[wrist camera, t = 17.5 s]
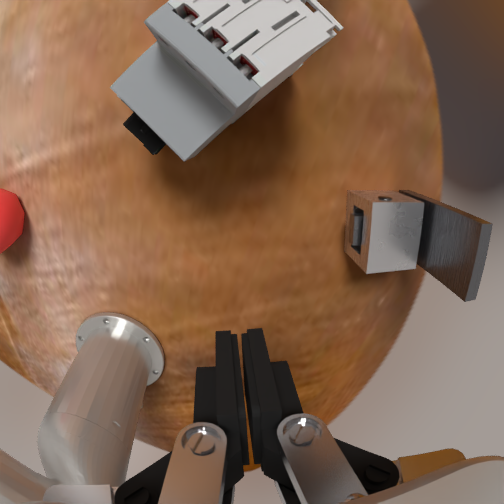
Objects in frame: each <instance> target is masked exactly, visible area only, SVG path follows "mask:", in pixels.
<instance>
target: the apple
mask: <svg viewBox="0 0 504 504" xmlns="http://www.w3.org/2000/svg"><path fill="white" fill-rule="evenodd" d="M24 214H25V213H24V211H23V209H22V206H21V204H20V202H19V200H18V197H17V195H16V194H14V193H12V192H9V191H7V190H4V189H0V254H1V253H2V252H3V251H4V250H6V249H7V248H8V247H9V246H11V245H12V244H13V243H14V242H15V241H16V240H17V238H18V237H19V236H20V235H21V234H22V232H23V222H24Z"/></svg>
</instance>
